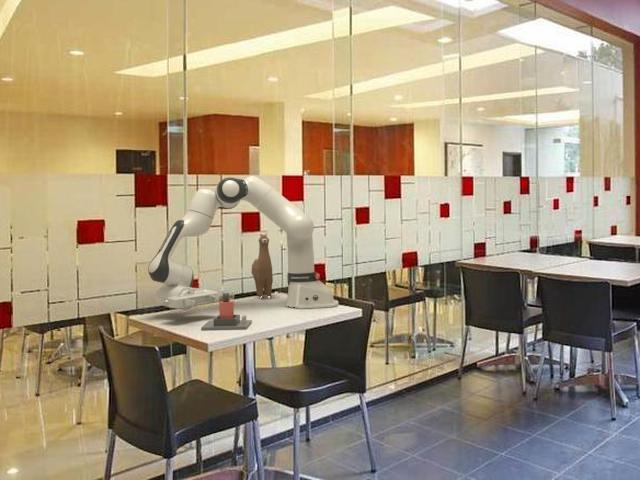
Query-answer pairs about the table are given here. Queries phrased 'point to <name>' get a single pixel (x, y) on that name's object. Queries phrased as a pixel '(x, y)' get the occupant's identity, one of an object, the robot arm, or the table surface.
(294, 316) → the table surface
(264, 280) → the toy
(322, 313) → the table surface
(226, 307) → the plug
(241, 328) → the dock
